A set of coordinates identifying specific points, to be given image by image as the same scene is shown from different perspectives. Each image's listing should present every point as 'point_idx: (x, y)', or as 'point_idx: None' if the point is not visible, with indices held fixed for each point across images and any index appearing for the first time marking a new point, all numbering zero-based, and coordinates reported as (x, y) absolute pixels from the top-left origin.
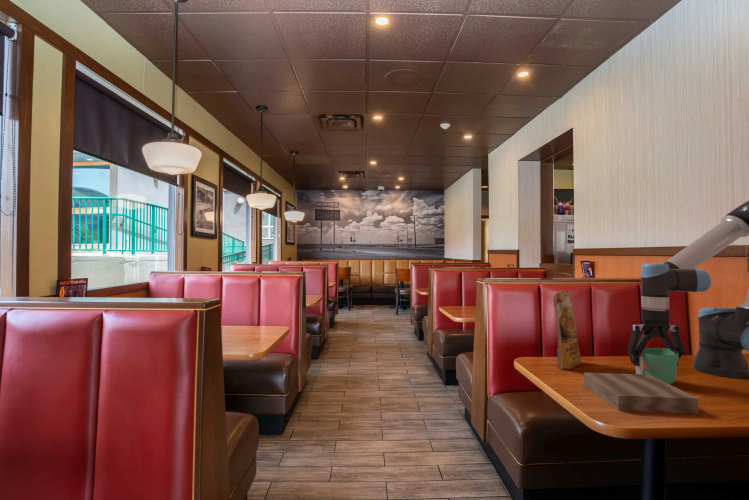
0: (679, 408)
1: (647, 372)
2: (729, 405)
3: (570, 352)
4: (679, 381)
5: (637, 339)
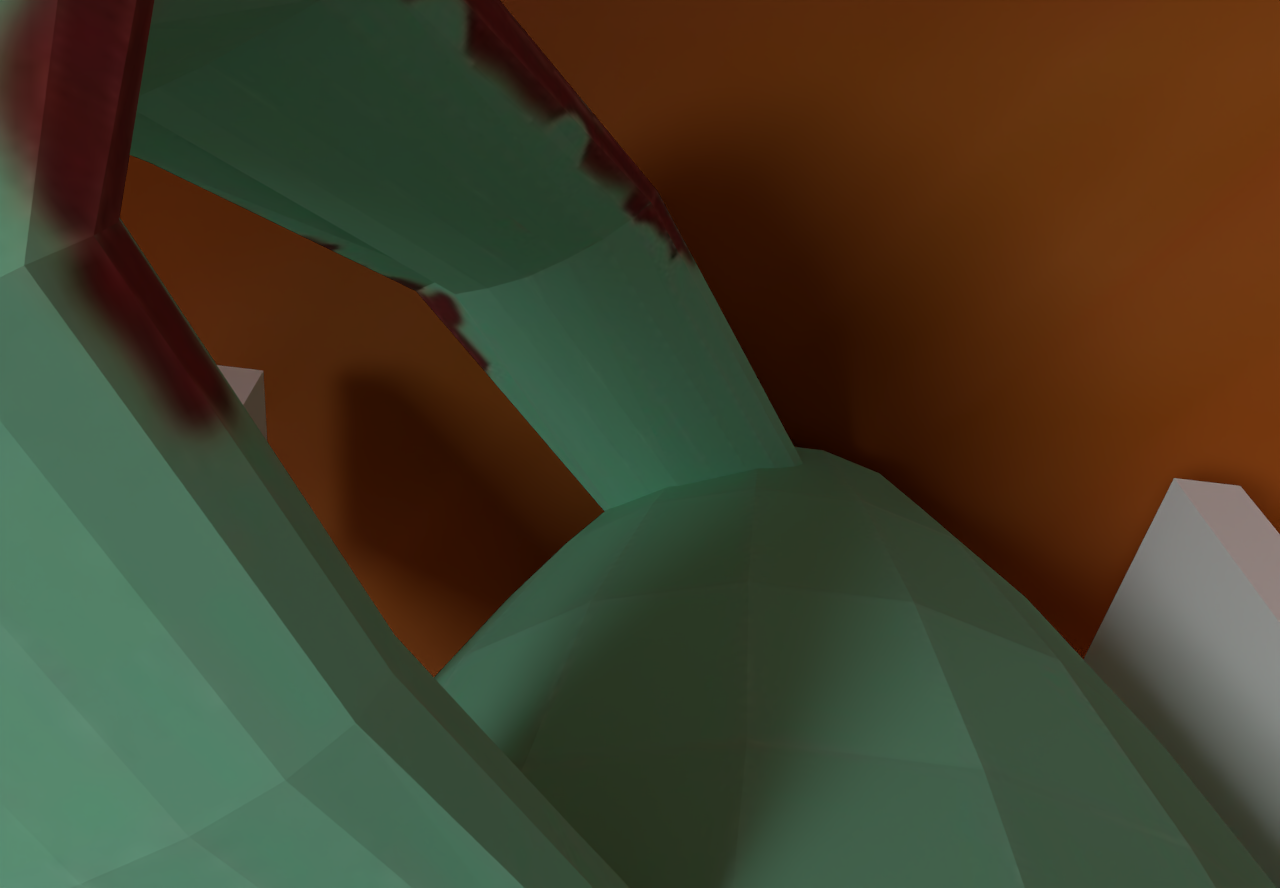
0: None
1: (576, 413)
2: None
3: None
4: (1272, 509)
5: None
